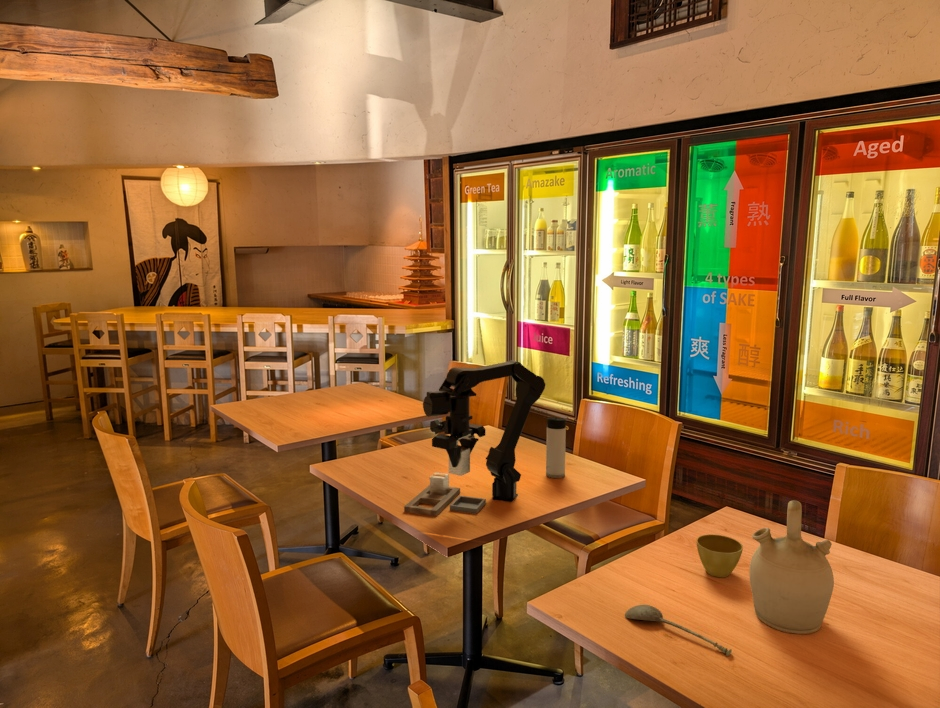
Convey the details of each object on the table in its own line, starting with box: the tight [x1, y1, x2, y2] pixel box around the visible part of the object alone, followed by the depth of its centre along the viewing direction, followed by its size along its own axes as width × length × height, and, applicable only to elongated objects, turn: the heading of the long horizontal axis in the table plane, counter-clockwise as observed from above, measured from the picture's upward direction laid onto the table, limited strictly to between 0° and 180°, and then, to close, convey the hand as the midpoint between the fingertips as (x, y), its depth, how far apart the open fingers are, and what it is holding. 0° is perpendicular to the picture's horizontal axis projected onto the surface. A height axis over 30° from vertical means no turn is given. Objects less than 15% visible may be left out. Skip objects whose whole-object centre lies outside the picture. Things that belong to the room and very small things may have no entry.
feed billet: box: [448, 446, 471, 477], centre depth 188 cm, size 4×4×7 cm
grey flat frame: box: [403, 484, 461, 517], centre depth 194 cm, size 10×19×2 cm, turn 160°
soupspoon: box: [624, 604, 733, 658], centre depth 129 cm, size 22×3×7 cm
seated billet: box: [429, 472, 450, 496], centre depth 199 cm, size 4×4×7 cm
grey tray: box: [449, 495, 487, 515], centre depth 191 cm, size 8×8×2 cm
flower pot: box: [696, 533, 744, 578], centre depth 152 cm, size 10×10×7 cm
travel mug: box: [545, 416, 567, 479], centre depth 217 cm, size 6×7×20 cm
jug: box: [749, 499, 835, 635], centre depth 131 cm, size 15×16×25 cm
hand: (459, 465), depth 188 cm, fingers closed on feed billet, 4 cm apart
